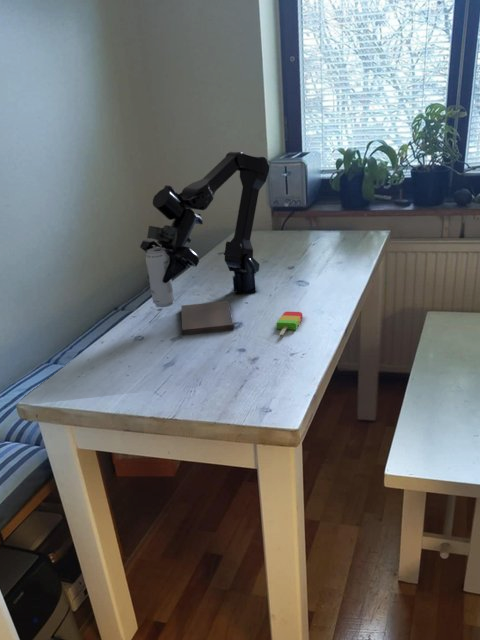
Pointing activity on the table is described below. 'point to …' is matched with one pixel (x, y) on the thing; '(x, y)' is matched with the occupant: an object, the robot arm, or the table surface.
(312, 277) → the table surface
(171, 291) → the energy drink can
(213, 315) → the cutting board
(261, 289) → the table surface
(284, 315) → the popsicle
